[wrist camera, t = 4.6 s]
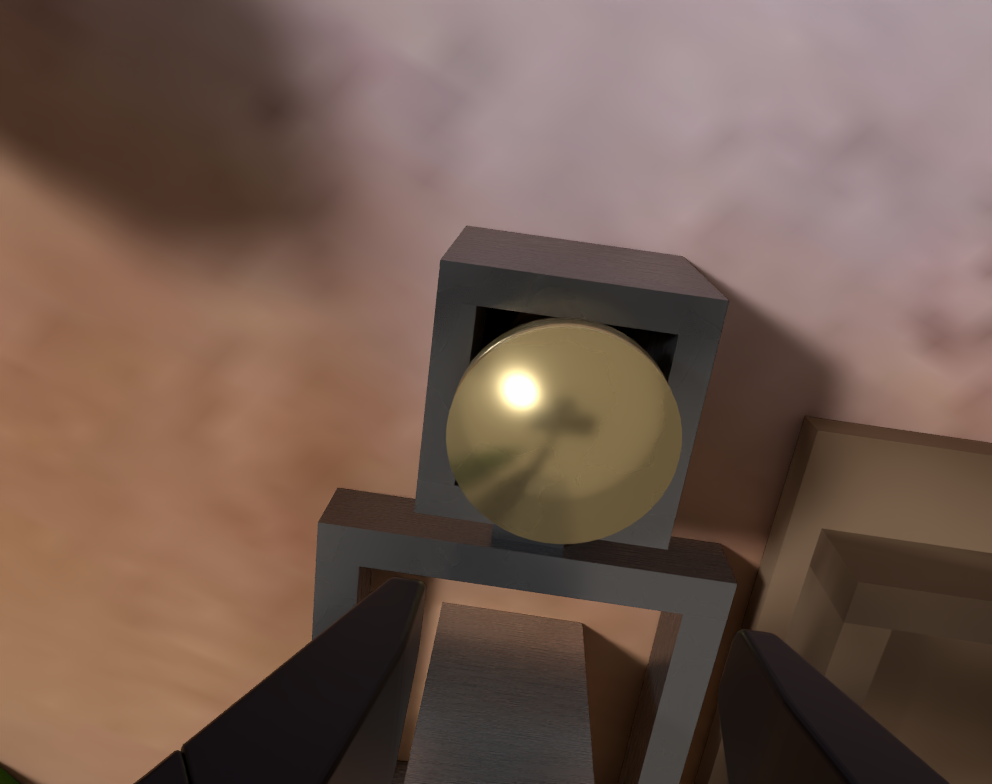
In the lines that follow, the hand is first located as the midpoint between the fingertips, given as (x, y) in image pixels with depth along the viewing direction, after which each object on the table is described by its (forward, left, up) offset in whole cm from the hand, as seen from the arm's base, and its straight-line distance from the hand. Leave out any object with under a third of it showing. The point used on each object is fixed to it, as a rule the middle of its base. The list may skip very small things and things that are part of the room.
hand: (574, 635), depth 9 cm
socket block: (-7, 0, -12) cm, 14 cm away
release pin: (0, 0, -12) cm, 12 cm away
